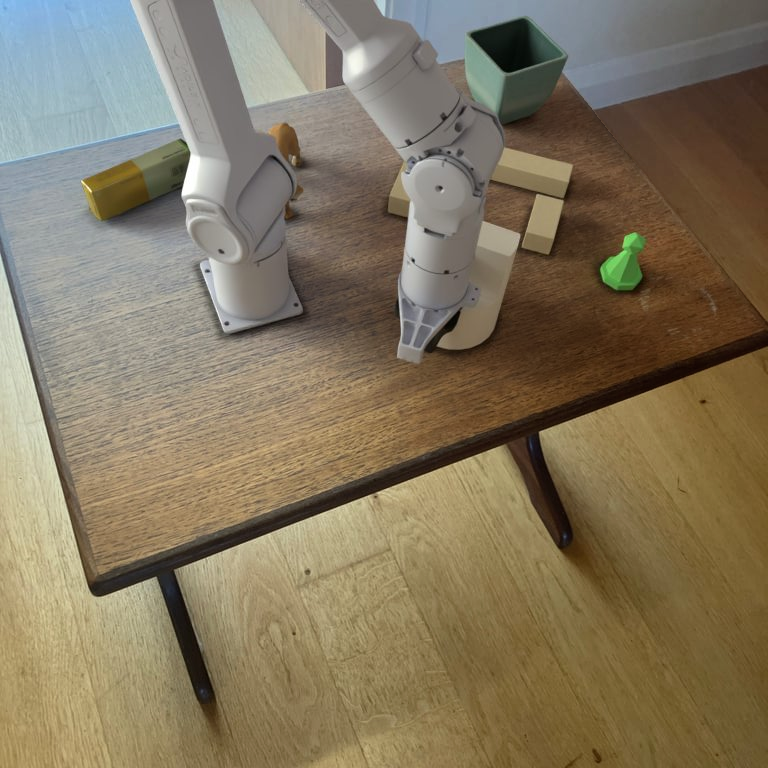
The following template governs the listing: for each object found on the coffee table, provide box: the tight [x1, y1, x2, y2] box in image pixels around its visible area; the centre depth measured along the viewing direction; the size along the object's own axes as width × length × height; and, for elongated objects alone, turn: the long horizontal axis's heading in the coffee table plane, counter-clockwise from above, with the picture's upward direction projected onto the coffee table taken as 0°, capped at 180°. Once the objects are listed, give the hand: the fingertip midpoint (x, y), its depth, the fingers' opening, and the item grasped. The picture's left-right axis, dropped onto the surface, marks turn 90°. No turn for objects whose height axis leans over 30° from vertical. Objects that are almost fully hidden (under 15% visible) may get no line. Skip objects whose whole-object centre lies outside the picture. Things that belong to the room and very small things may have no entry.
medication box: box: [80, 138, 191, 222], centre depth 87 cm, size 12×3×4 cm, turn 129°
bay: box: [387, 146, 574, 255], centre depth 91 cm, size 12×18×2 cm, turn 73°
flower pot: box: [464, 15, 569, 126], centre depth 96 cm, size 9×9×9 cm
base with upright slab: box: [436, 220, 521, 351], centre depth 77 cm, size 9×9×12 cm
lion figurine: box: [267, 122, 304, 220], centre depth 86 cm, size 15×5×9 cm, turn 4°
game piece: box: [599, 231, 647, 291], centre depth 84 cm, size 4×4×6 cm
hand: (423, 345), depth 78 cm, fingers closed
